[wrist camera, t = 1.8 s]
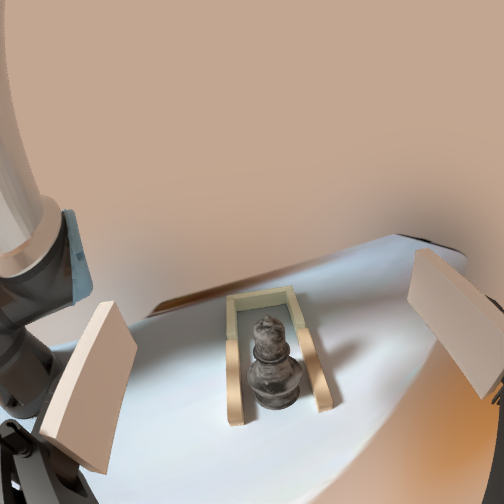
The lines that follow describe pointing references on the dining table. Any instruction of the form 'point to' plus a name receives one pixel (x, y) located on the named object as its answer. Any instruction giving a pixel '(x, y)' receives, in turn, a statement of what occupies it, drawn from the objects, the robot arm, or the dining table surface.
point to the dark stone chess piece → (273, 367)
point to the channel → (311, 365)
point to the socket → (259, 301)
